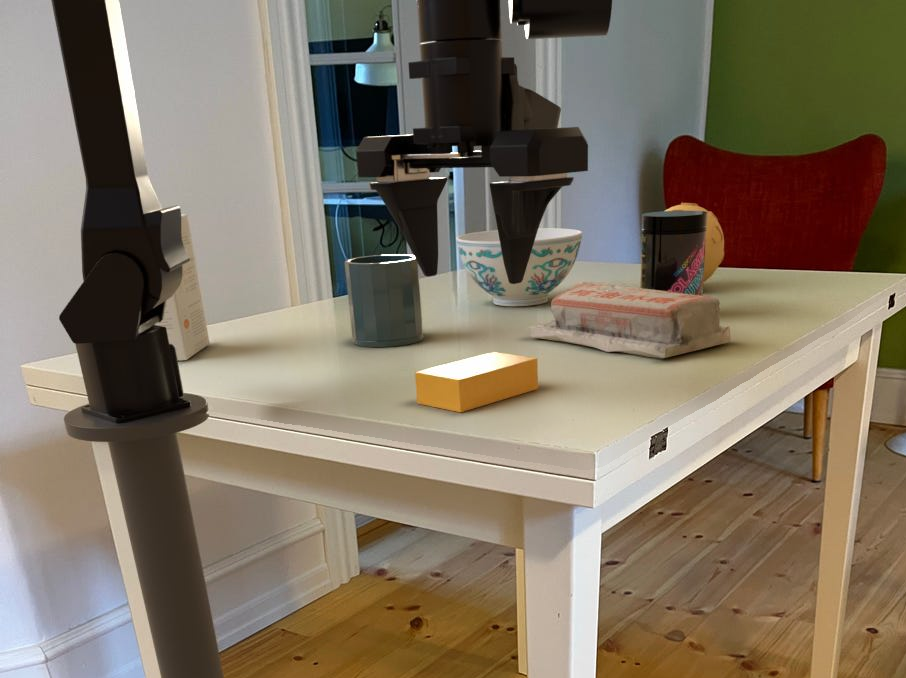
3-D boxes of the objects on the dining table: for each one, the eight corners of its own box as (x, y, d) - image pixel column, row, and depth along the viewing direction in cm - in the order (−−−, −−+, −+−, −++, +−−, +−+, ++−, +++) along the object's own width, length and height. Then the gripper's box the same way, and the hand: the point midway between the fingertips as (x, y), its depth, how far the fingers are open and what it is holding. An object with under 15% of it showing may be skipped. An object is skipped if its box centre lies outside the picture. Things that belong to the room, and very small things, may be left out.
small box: (153, 347, 106) (127, 215, 100) (211, 345, 106) (189, 212, 100) (125, 363, 99) (96, 222, 93) (187, 360, 99) (162, 219, 93)
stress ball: (640, 296, 121) (642, 207, 116) (643, 284, 129) (645, 201, 125) (723, 294, 119) (729, 204, 114) (721, 282, 128) (726, 198, 123)
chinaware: (447, 298, 126) (443, 234, 123) (558, 289, 129) (557, 225, 126) (477, 316, 113) (474, 244, 110) (600, 305, 116) (600, 234, 113)
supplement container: (651, 324, 104) (655, 217, 99) (630, 314, 110) (632, 213, 105) (711, 319, 105) (718, 213, 100) (687, 310, 111) (692, 209, 106)
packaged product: (738, 290, 91) (667, 306, 86) (734, 344, 93) (665, 362, 88) (596, 276, 103) (526, 289, 98) (596, 323, 106) (527, 339, 100)
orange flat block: (460, 412, 76) (458, 380, 74) (416, 403, 79) (414, 371, 78) (538, 389, 81) (537, 358, 80) (494, 381, 84) (493, 351, 83)
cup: (384, 350, 99) (377, 265, 95) (339, 342, 103) (330, 261, 100) (437, 337, 103) (432, 256, 100) (391, 331, 108) (385, 253, 104)
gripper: (639, 33, 68) (633, 273, 75) (450, 55, 80) (461, 261, 87) (531, 28, 61) (536, 294, 68) (342, 54, 73) (363, 277, 80)
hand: (471, 279), depth 76 cm, fingers open, 9 cm apart
